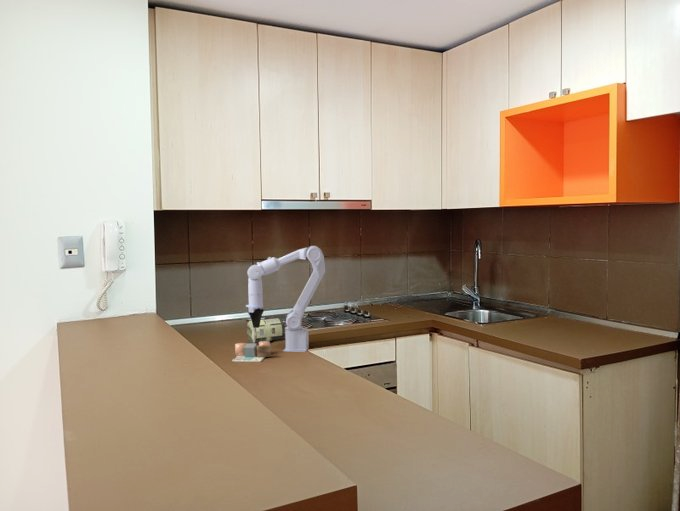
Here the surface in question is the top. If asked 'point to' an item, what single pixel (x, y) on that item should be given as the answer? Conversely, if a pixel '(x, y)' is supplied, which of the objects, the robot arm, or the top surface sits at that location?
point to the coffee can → (266, 330)
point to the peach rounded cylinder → (264, 343)
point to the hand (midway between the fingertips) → (256, 327)
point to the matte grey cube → (250, 349)
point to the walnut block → (263, 351)
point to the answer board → (248, 359)
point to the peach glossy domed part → (239, 349)
